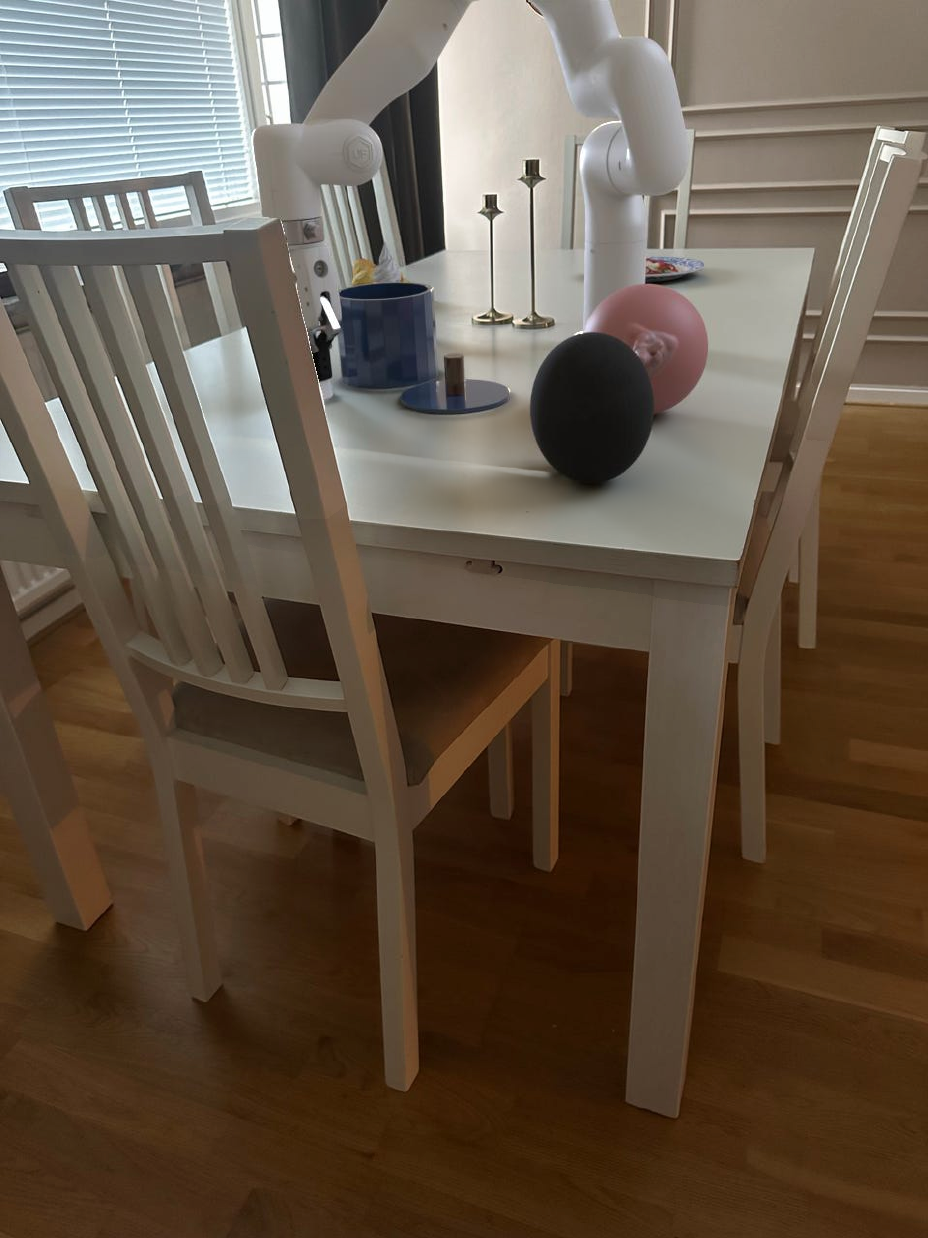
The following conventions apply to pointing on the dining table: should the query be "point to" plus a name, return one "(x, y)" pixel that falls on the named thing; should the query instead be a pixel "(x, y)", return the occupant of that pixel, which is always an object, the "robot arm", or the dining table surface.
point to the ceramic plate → (670, 268)
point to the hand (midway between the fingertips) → (312, 376)
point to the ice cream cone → (386, 268)
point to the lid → (455, 392)
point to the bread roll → (366, 272)
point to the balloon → (657, 337)
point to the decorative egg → (592, 407)
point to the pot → (387, 335)
